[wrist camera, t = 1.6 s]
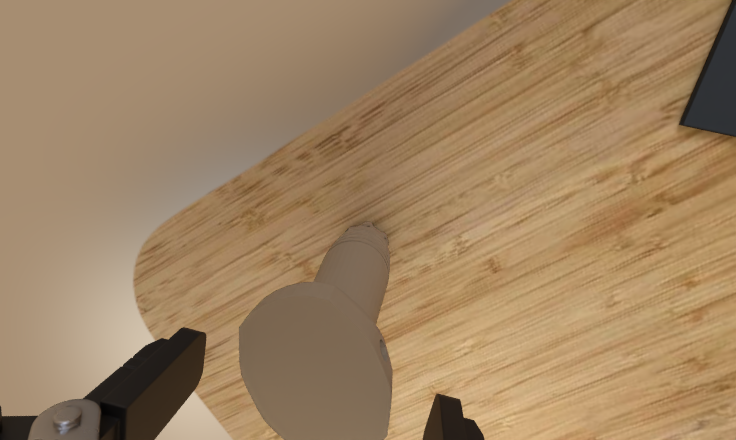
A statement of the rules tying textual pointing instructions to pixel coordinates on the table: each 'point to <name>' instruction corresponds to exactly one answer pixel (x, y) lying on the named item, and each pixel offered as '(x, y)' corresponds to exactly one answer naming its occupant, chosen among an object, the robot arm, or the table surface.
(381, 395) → the handle
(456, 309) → the table surface
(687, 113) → the place mat
